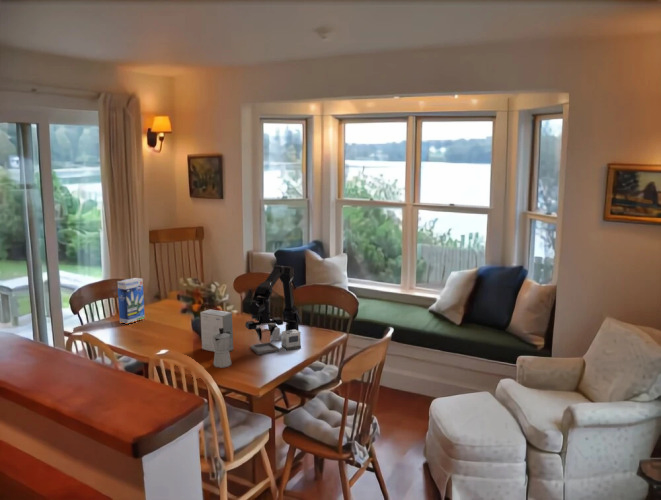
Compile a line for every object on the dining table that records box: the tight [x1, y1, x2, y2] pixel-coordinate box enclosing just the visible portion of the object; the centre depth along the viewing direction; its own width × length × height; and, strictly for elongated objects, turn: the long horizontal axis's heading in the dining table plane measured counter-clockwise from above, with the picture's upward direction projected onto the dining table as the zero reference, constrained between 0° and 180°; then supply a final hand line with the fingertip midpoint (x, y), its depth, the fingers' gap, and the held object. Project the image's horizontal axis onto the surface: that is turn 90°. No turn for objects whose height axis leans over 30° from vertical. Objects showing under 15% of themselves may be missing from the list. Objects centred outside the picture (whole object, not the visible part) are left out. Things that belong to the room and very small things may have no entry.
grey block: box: [270, 326, 281, 341], centre depth 309 cm, size 4×4×6 cm
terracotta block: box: [258, 328, 272, 344], centre depth 290 cm, size 4×4×6 cm
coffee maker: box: [213, 328, 232, 369], centre depth 271 cm, size 15×9×18 cm, turn 164°
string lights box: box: [116, 277, 146, 323], centre depth 338 cm, size 13×8×26 cm, turn 149°
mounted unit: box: [281, 329, 302, 352], centre depth 294 cm, size 8×7×8 cm
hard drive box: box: [199, 308, 234, 353], centre depth 290 cm, size 16×8×20 cm, turn 59°
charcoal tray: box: [250, 341, 280, 356], centre depth 291 cm, size 11×11×2 cm
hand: (264, 339), depth 291 cm, fingers closed on terracotta block, 4 cm apart
